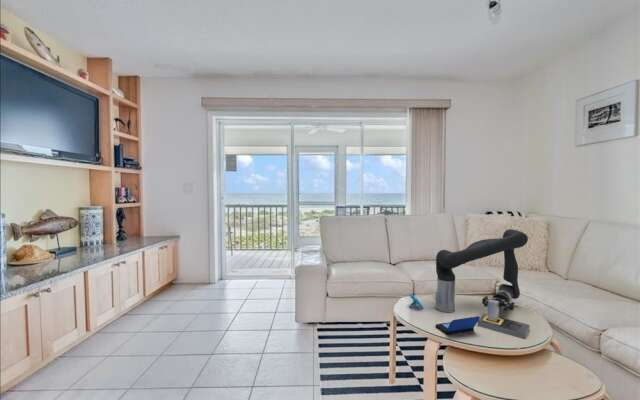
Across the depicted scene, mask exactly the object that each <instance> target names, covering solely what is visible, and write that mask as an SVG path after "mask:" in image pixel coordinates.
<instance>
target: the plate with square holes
mask: <svg viewBox="0 0 640 400" xmlns="http://www.w3.org/2000/svg"><path fill="white" fill-rule="evenodd" d="M477 326H478V327H482V328H485V329H488V330H491V331H495V332H499V333H501V334H507V335H509V336H512V337H517V338H520V339H524V340H525V339H526V338H527V337H528V334H529V332H530V328H531V327H530V326H531V325H530V324H528V323H524V322H521V321H515V320H512V319H507V318H504V317H500V316H499V323H495V322H492V321H488V313H483V314H482V316H481V317H480V319H479V320H478V322H477Z"/></svg>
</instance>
